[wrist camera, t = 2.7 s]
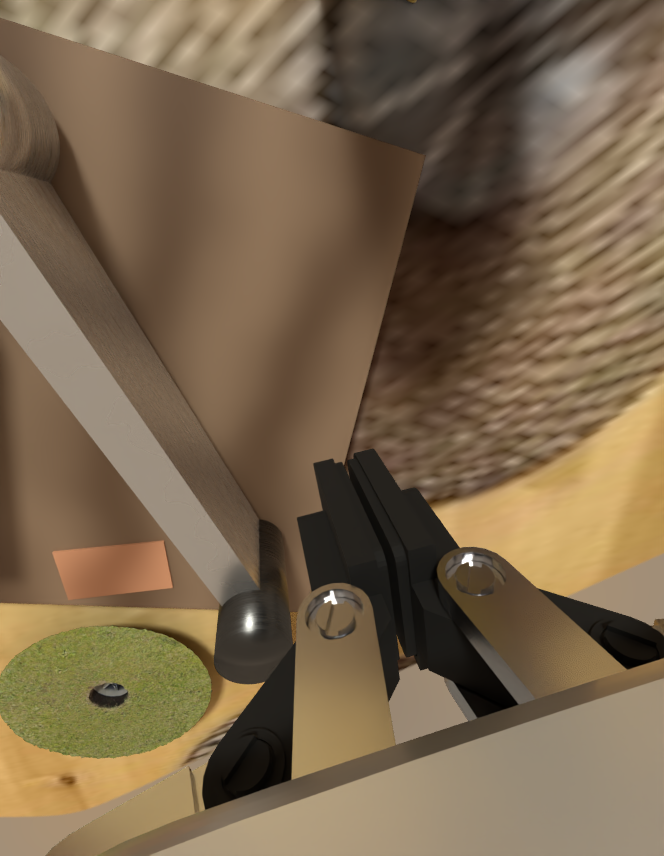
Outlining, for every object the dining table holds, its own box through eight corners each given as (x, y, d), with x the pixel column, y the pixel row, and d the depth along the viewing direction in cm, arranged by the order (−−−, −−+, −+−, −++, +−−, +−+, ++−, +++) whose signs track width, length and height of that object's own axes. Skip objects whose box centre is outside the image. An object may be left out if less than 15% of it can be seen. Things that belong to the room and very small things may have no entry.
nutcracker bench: (412, 162, 17) (468, 133, 12) (302, 592, 25) (312, 668, 21) (-176, -24, 12) (-423, -176, 8) (-70, 576, 21) (-160, 669, 16)
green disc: (134, 566, 23) (124, 594, 21) (248, 673, 27) (248, 702, 26) (-35, 661, 23) (-59, 695, 21) (106, 748, 28) (96, 782, 26)
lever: (-130, 78, 12) (-487, -72, 6) (-2, 19, 12) (-244, -190, 6) (231, 577, 21) (222, 700, 15) (303, 545, 21) (320, 658, 15)
